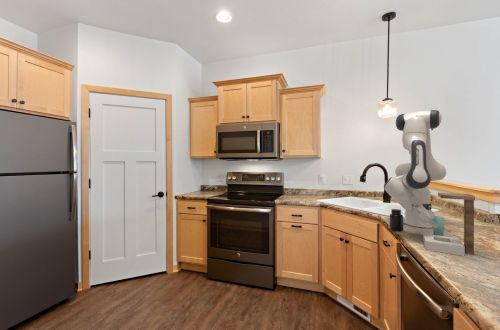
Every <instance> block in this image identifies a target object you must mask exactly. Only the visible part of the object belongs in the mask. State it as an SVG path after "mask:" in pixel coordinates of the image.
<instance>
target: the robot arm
mask: <svg viewBox="0 0 500 330" xmlns="http://www.w3.org/2000/svg"><path fill="white" fill-rule="evenodd" d="M442 118H443V117H442V114H441V113H440V111H439V109H431V110H417V111H412V112H408V113H401V114H399V115H398V116H396V119H395V127H396V129H397V131H401V132H402V139H401V140H402V147H403V148H404V149H405V150H407V151H408V154H409V155H410V163H408V162H407V163H401V164H398V165H397V166H396V168H395V170H394V171H395V172H394V173H395V175H396V176H391V177H389V178H388V179H387V181H385V183H384V184H383V189H384V190H385V192H386V193H387V194H388V195H389V196H390V197H391V198H392V199H393V200H395V201H396V202H397V203H398V205H400V206H401V207H402V208H403V210H405V211H404V218H403V225H404V224H406V225H409V226H411V227H418V228H427V229H429V228H433V229H434V228H436V227H438V225H437V224H436V223H435V222H434V216H436V215H435V212H434V211H433V210H432V203H431V197H432V195H431V191H430V189H429V188H427V187H428V186H429V185H430V184H431V182H435V181H442V180H443V179H445V177H446V176H447V169H446V167H445V166H444V165H443V164H442V163H440V162H439V161H437V160H436V159H435V157H434V156H433V154H432V147H431V133H430V132H431V131H433V130H435V129H436V128H438V127H439V126H440V124H441V123H442ZM430 130H431V131H430Z"/></svg>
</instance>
